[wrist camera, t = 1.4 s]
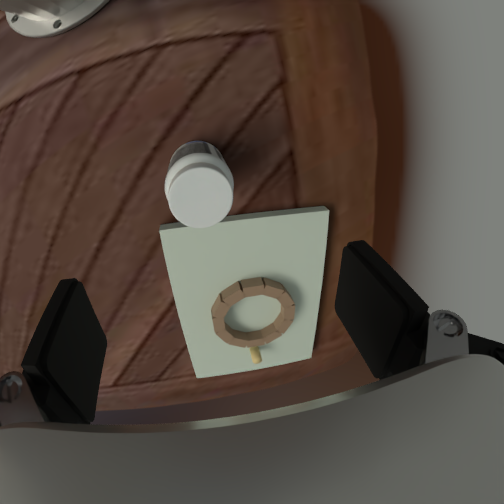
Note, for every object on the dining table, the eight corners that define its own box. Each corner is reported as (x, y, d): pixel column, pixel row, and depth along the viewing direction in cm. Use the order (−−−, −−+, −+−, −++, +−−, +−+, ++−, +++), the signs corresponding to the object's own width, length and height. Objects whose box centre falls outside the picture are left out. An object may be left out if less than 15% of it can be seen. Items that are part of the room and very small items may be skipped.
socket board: (160, 224, 26) (157, 241, 24) (324, 205, 29) (338, 218, 26) (196, 371, 38) (198, 390, 35) (308, 351, 40) (315, 368, 37)
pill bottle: (161, 181, 24) (150, 219, 17) (182, 131, 23) (179, 148, 15) (210, 199, 26) (219, 244, 19) (233, 152, 24) (252, 179, 17)
